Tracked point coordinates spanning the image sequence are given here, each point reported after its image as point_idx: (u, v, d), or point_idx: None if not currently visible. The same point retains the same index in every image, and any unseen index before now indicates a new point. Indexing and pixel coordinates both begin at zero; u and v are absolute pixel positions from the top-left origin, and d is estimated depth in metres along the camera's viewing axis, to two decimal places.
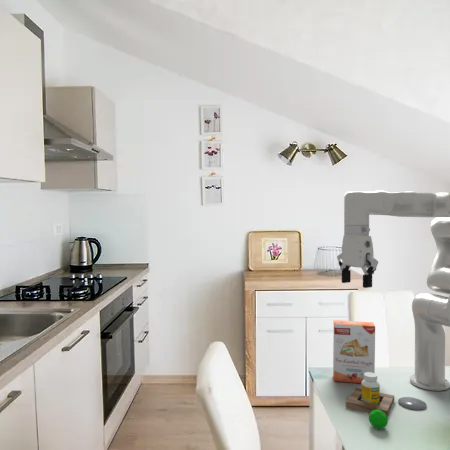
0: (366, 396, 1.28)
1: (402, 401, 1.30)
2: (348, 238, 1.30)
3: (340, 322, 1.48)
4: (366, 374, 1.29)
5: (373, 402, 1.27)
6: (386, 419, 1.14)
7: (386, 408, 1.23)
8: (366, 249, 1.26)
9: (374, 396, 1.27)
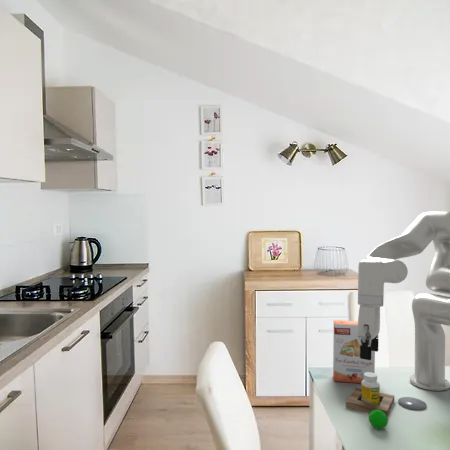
0: (366, 396, 1.28)
1: (402, 401, 1.30)
2: (378, 309, 1.27)
3: (340, 322, 1.48)
4: (366, 374, 1.29)
5: (373, 402, 1.27)
6: (386, 419, 1.14)
7: (386, 408, 1.23)
8: None
9: (374, 396, 1.27)
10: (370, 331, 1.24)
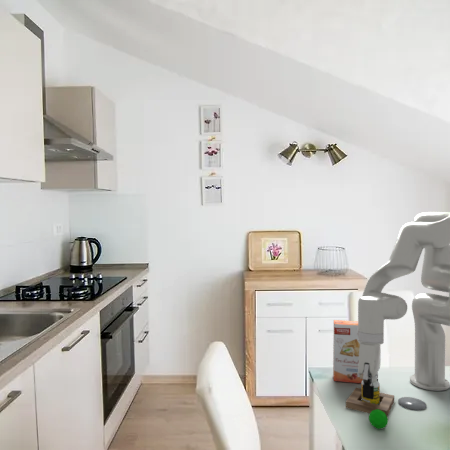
0: None
1: (402, 401, 1.30)
2: (378, 346, 1.27)
3: (340, 322, 1.48)
4: None
5: (373, 402, 1.27)
6: (386, 419, 1.14)
7: (386, 408, 1.23)
8: None
9: (374, 395, 1.27)
10: (371, 369, 1.24)
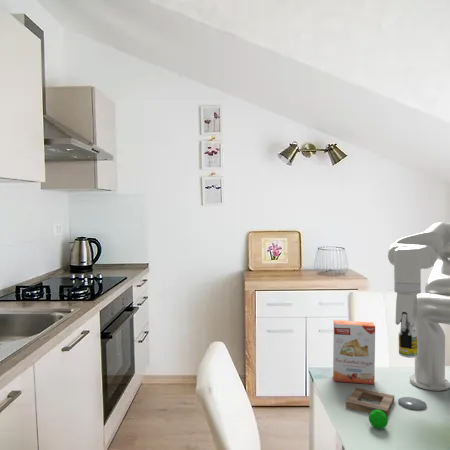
0: None
1: (402, 401, 1.30)
2: (415, 296, 1.27)
3: (340, 322, 1.48)
4: None
5: (411, 351, 1.27)
6: (386, 419, 1.14)
7: (386, 408, 1.23)
8: None
9: (412, 345, 1.27)
10: (409, 318, 1.24)
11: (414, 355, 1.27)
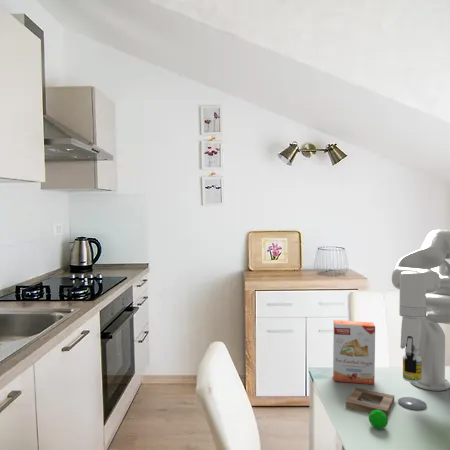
0: None
1: (402, 401, 1.30)
2: (421, 320, 1.27)
3: (340, 322, 1.48)
4: None
5: (415, 376, 1.27)
6: (386, 419, 1.14)
7: (386, 408, 1.23)
8: None
9: (416, 370, 1.27)
10: (414, 343, 1.24)
11: (418, 380, 1.27)
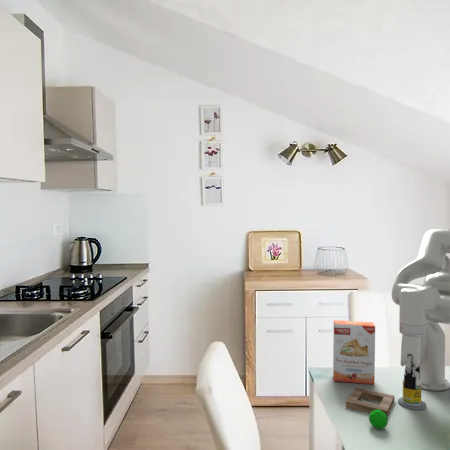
0: (408, 394, 1.28)
1: (402, 401, 1.30)
2: (420, 338, 1.27)
3: (340, 322, 1.48)
4: None
5: (415, 400, 1.27)
6: (386, 419, 1.14)
7: (386, 408, 1.23)
8: None
9: (416, 393, 1.27)
10: (414, 361, 1.24)
11: (418, 403, 1.27)
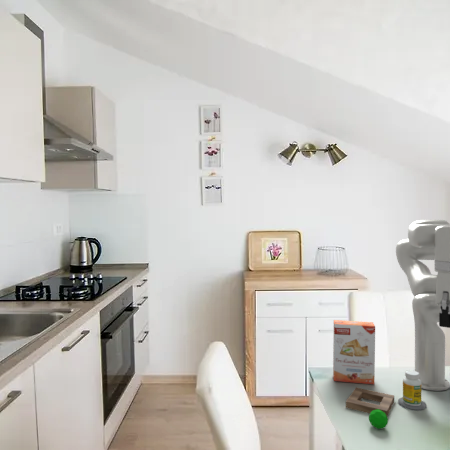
0: (408, 394, 1.28)
1: (402, 401, 1.30)
2: None
3: (340, 322, 1.48)
4: (408, 372, 1.29)
5: (415, 400, 1.27)
6: (386, 419, 1.14)
7: (386, 408, 1.23)
8: None
9: (416, 394, 1.27)
10: None
11: (418, 403, 1.27)
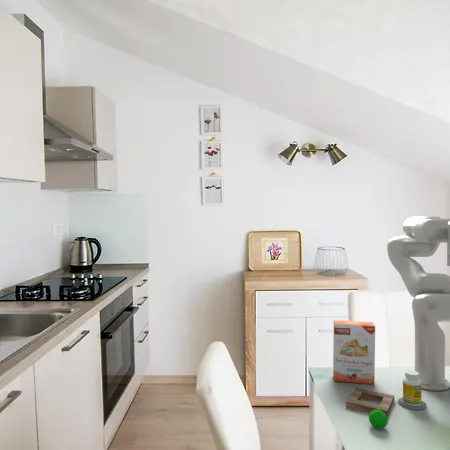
0: (408, 394, 1.28)
1: (402, 401, 1.30)
2: None
3: (340, 322, 1.48)
4: (408, 372, 1.29)
5: (415, 400, 1.27)
6: (386, 419, 1.14)
7: (386, 408, 1.23)
8: None
9: (416, 394, 1.27)
10: None
11: (418, 403, 1.27)
